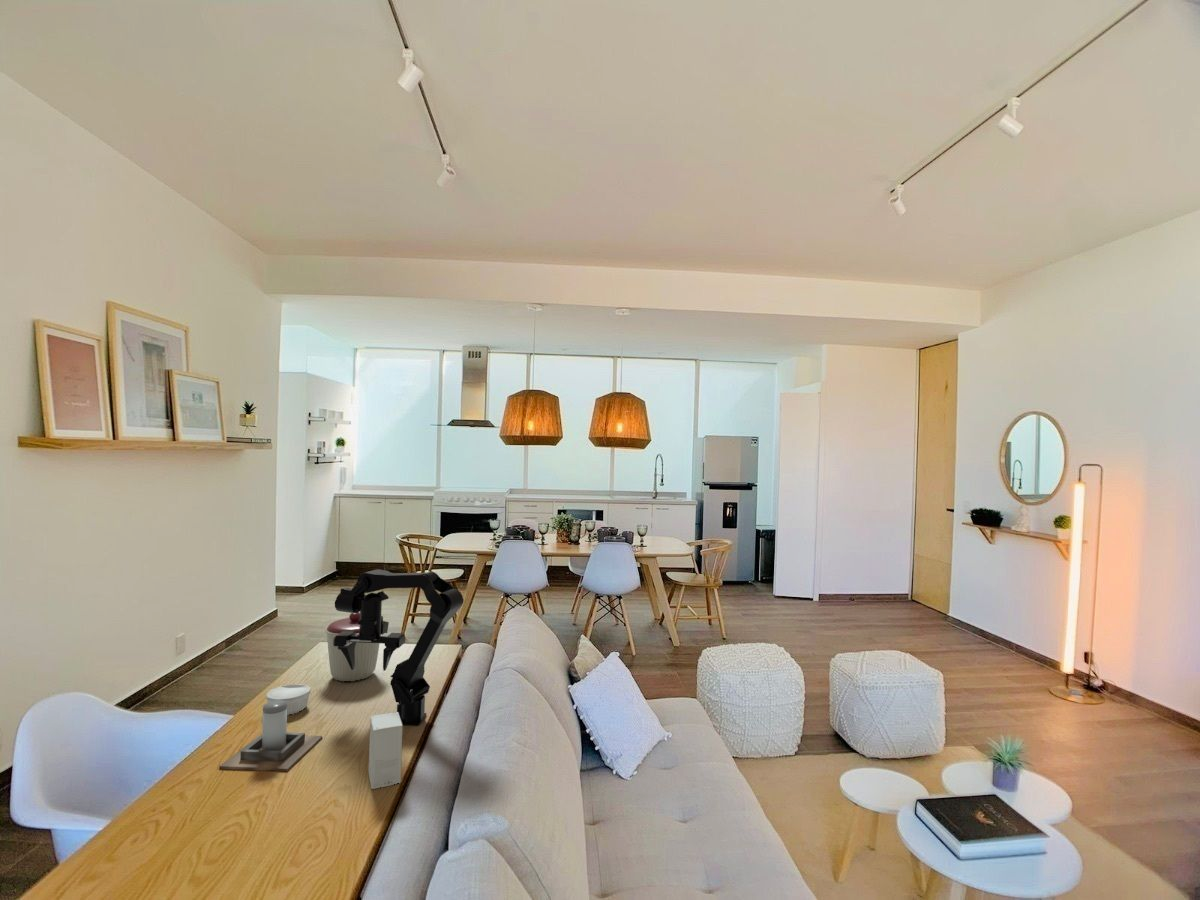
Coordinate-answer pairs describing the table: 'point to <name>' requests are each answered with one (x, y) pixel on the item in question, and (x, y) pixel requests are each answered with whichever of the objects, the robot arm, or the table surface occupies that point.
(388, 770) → the small box
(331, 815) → the table surface
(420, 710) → the robot arm
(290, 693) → the ramekin
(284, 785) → the table surface
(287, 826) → the table surface
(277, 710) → the grey cylinder
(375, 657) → the canister
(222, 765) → the jig board
